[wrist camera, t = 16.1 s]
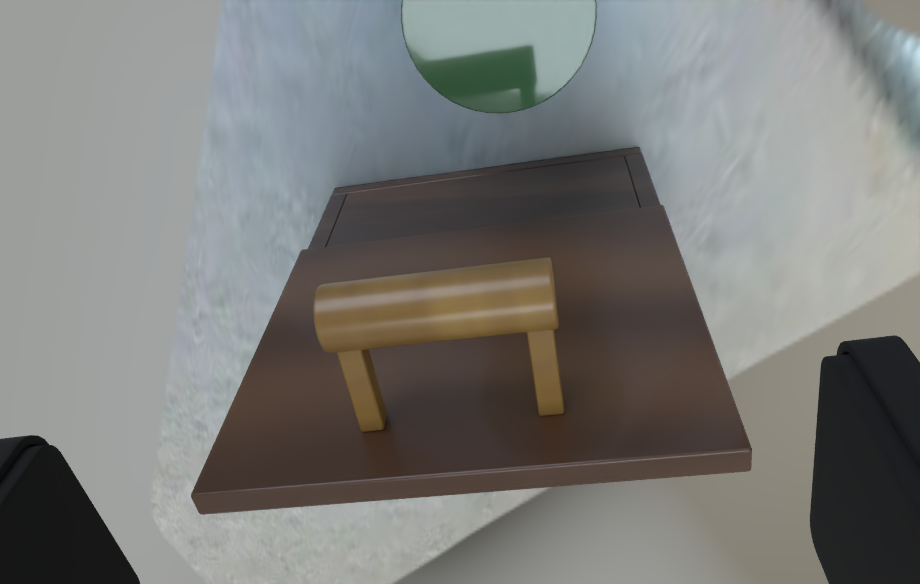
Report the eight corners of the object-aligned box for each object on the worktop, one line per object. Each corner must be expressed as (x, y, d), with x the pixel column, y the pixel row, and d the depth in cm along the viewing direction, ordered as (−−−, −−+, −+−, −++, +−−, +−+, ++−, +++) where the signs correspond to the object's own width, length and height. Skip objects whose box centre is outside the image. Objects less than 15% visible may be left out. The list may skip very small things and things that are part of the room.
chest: (651, 362, 43) (670, 443, 38) (389, 388, 45) (373, 468, 40) (639, 146, 36) (661, 207, 31) (334, 187, 38) (305, 252, 33)
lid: (751, 472, 20) (758, 290, 17) (198, 516, 22) (121, 360, 19) (664, 222, 31) (659, 87, 28) (306, 265, 33) (267, 144, 30)
